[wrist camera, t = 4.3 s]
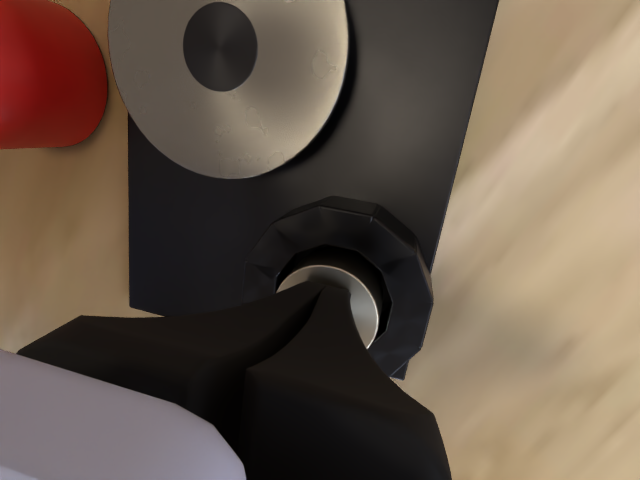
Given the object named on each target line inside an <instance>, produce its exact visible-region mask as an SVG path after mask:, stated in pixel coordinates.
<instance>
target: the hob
mask: <svg viewBox="0 0 640 480" xmlns="http://www.w3.org/2000/svg"><path fill="white" fill-rule="evenodd" d="M345 2H346V5H347V12H348V19H349V25H350V52H349V63H348V69H347V74H346V78H345V83H344V86H343V89H342V92H341V95H340V98H339V101H338V103H337V105H336V107H335V109H334V111H333V114H332V116H331V118H330V119H329V121H328V122H327V124H326V125H325V127H324V129H323V130H322V132H321V133H320V134H319V135H318V136H317V138H316V139H315V140H314V141H313V142H312V144H311V145H310V146H309V147H308V148H306V149H305V150H304V151H303V152H302V153H301V154H300V155H299V156H297V157H296V158H294V159H293V160H291V161H290V162H288V163H287V164H285V165H283V166H281V167H279V168H277V169H275V170H273V171H271V172H268V173H265V174H261V175H258V176H254V177H248V178H243V179H222V178H214V177H209V176H205V175H202V174H198V173H196V172H193V171H191V170H188V169H186V168H184V167H182V166H181V165H179V164H177V163H175V162H174V161H172V160H171V159H169V158H168V157H167V156H165V155H164V154H163V153H161V152H160V151H159V150H158V149H157V148H156V147H155V146H154V145H153V144H152V143H151V142H150V141H149V140H148V139H147V138H146V137H145V135H144V134H143V133H142V132H141V131H140V129H139V128H138V126H137V125H136V123H135V122H134V120H133V119H132V117H131V116H130V114H129V112H128V186H129V306H130V307H131V308H135V309H139V310H143V311H146V312H150V313H154V314H157V315H161V316H165V317H171V316H182V315H190V314H198V313H205V312H212V311H218V310H222V309H227V308H231V307H235V306H239V305H243V304H246V303H249V302H252V301H255V300H258V299H261V298H264V297H267V296H270V295H272V294H275V293H276V292H277V290H278V288H279V286H280V284H281V283H282V282H283V280H284V279H285V278H286V277H287V276H288V275H289V274H290V272H291V271H292V270H293V269H294V268H295V267H296V266H297V265H298V263H299V262H300V261H301V260H302V259H303V258H305V257H306V256H307V255H309V254H311V253H313V252H315V251H318V250H322V249H328V248H337V249H343V250H347V251H350V252H352V253H355V254H357V255H358V256H360V257H362V258H363V259H364V260H366V261H367V262H368V263H369V264H370V265H371V266H372V268H373V269H374V270H375V272H376V273H377V275H378V277H379V279H380V281H381V285H382V289H383V304H382V310H381V315H380V320H379V326H378V330H377V334H376V336H375V339H374V341H373V342H372V344H371V345H370V347H369V348H368V349H367V350H368V352H369V354H370V355H371V357H372V358H373V360H374V361H375V362H376V363H377V365H378V366H379V367H380V368H381V369H382V371H383V372H384V373H385V374H386V375H387V376H388V377H391V378H395V379H399V380H404V379H405V375H406V371H407V367H408V363H409V360H410V359H411V358H412V357H413V356H414V355H415V354H416V353H417V352H419V351H420V350H421V347H422V346H423V342H424V338H425V334H426V330H427V326H428V323H429V319H430V315H431V311H432V307H433V291H432V282H431V276H430V275H431V271H432V267H433V263H434V259H435V255H436V251H437V247H438V243H439V239H440V235H441V231H442V227H443V223H444V219H445V215H446V211H447V207H448V203H449V199H450V195H451V191H452V187H453V183H454V179H455V175H456V171H457V167H458V163H459V159H460V155H461V151H462V147H463V143H464V139H465V135H466V131H467V127H468V123H469V119H470V115H471V111H472V107H473V103H474V99H475V95H476V91H477V87H478V83H479V79H480V75H481V71H482V67H483V63H484V59H485V55H486V51H487V47H488V43H489V39H490V35H491V31H492V27H493V23H494V19H495V15H496V11H497V7H498V3H499V0H345Z"/></svg>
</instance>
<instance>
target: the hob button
mask: <svg viewBox="0 0 640 480" xmlns="http://www.w3.org/2000/svg"><path fill="white" fill-rule="evenodd" d="M305 281H311V282H315V283H320V284H324V285H328V286H333V287H337V288H342V289H346V290H349V292H350V293H351V299H350V304H351V310H352V314H353V317H354V321H355V324H356V327H357V329H358V332H359V334H360V337H361V339H362V341H363V343H364V345H365V347H366V348H367V349H368V348H369V347H370V345H371V344H372V342H373V341H374V339H375V336H376V334H377V330H378V326H379V320H380V315H381V310H382V304H383V289H382V285H381V281H380V279H379V277H378V275H377V273H376V272H375V270H374V269H373V268H372V266H371V265H370V264H369V263H368V262H367V261H366V260H364V259H363V258H362V257H360V256H358V255H357V254H355V253H352V252H350V251H347V250H343V249H337V248H328V249H322V250H318V251H315V252H313V253H311V254H309V255H307V256H306V257H305V258H303V259H302V260H301V261H300V262H299V263H298V265H297V266H296V267H295V268H294V269H293V270H292V271H291V272H290V274H289V275H288V276H287V277H286V278H285V279H284V280H283V282H282V283H281V284H280V286H279V288H278V290H277V292H280V291H282V290H285V289H287V288H290V287H292V286H294V285H297V284H299V283H302V282H305ZM277 292H276V293H277Z"/></svg>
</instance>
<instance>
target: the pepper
mask: <svg viewBox="0 0 640 480" xmlns="http://www.w3.org/2000/svg"><path fill="white" fill-rule="evenodd" d="M106 100H107V75H106V69H105V64H104V61H103V57H102V55H101V52H100V50H99V47H98V45H97V43H96V41H95V39H94V37H93V36H92V34H91V33H90V31H89V30H88V29H87V27H86V26H85V25H84V24H83V23H82V21H81V20H79V19H78V18H77V17H76V16H75V15H74V14H73V13H72V12H70V11H69V10H68V9H66V8H64V7H62V6H61V5H59V4H56V3H53V2H51V1H48V0H0V149H17V148H42V147H65V146H71V145H75V144H77V143H79V142H81V141H83V140H84V139H86V138H87V137H88V136H89V135H90V134H92V132H93V131H94V130H95V129H96V127H97V126H98V124H99V122H100V121H101V118H102V116H103V113H104V110H105V106H106Z"/></svg>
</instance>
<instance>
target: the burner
mask: <svg viewBox="0 0 640 480" xmlns="http://www.w3.org/2000/svg"><path fill="white" fill-rule="evenodd" d="M108 43H109V54H110V60H111V65H112V70H113V74H114V78H115V81H116V85H117V87H118V90H119V93H120V95H121V98H122V100H123V102H124V104H125V106H126V108H127V110H128V112H129V114H130V116H131V117H132V119H133V120H134V122H135V123H136V125H137V126H138V128H139V129H140V131H141V132H142V133H143V134H144V135H145V137H146V138H147V139H148V140H149V141H150V142H151V143H152V144H153V145H154V146H155V147H156V148H157V149H158V150H159V151H160V152H161V153H163V154H164V155H165V156H167V157H168V158H169V159H171V160H172V161H174V162H175V163H177V164H179V165H181V166H182V167H184V168H186V169H188V170H191V171H193V172H196V173H198V174H202V175H205V176H209V177H214V178H222V179H243V178H248V177H254V176H258V175H261V174H265V173H268V172H271V171H273V170H275V169H277V168H279V167H281V166H283V165H285V164H287V163H288V162H290V161H291V160H293V159H294V158H296V157H297V156H299V155H300V154H301V153H302V152H303V151H304V150H305V149H306V148H308V147H309V146H310V145H311V144H312V142H313V141H314V140H315V139H316V138H317V136H318V135H319V134H320V133H321V132H322V130H323V129H324V127H325V125H326V124H327V122H328V121H329V119H330V118H331V116H332V114H333V111H334V109H335V107H336V105H337V103H338V101H339V98H340V95H341V92H342V89H343V86H344V83H345V78H346V74H347V69H348V63H349V52H350V25H349V19H348V12H347V5H346V2H345V0H111V1H110V9H109V16H108Z"/></svg>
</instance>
